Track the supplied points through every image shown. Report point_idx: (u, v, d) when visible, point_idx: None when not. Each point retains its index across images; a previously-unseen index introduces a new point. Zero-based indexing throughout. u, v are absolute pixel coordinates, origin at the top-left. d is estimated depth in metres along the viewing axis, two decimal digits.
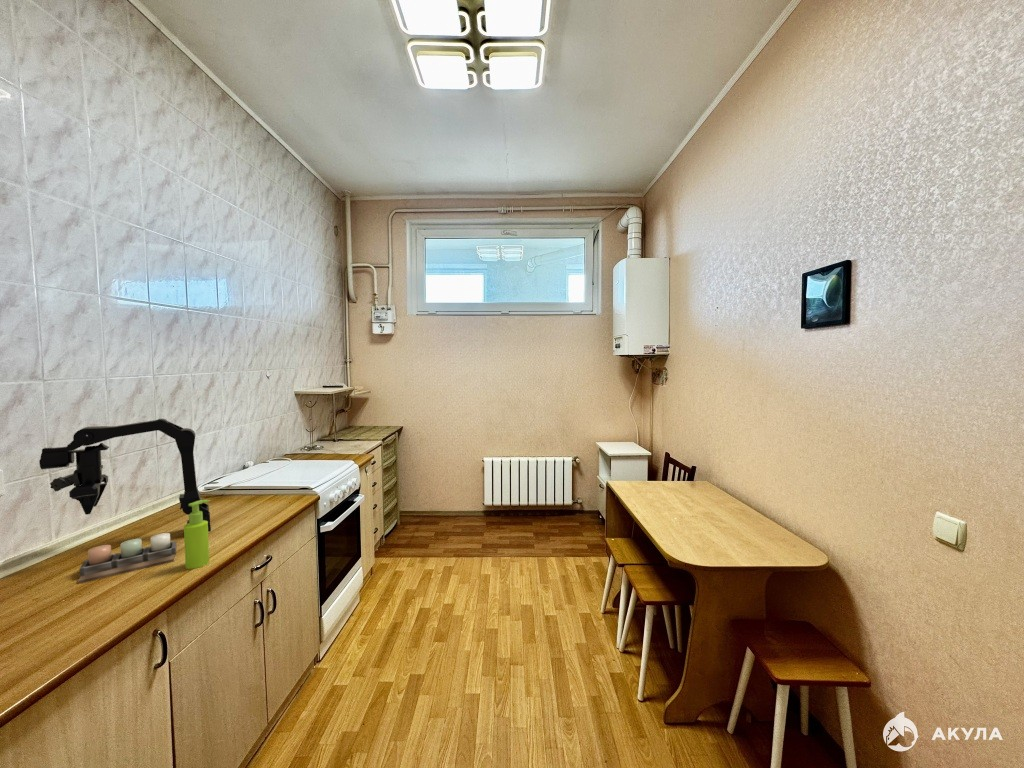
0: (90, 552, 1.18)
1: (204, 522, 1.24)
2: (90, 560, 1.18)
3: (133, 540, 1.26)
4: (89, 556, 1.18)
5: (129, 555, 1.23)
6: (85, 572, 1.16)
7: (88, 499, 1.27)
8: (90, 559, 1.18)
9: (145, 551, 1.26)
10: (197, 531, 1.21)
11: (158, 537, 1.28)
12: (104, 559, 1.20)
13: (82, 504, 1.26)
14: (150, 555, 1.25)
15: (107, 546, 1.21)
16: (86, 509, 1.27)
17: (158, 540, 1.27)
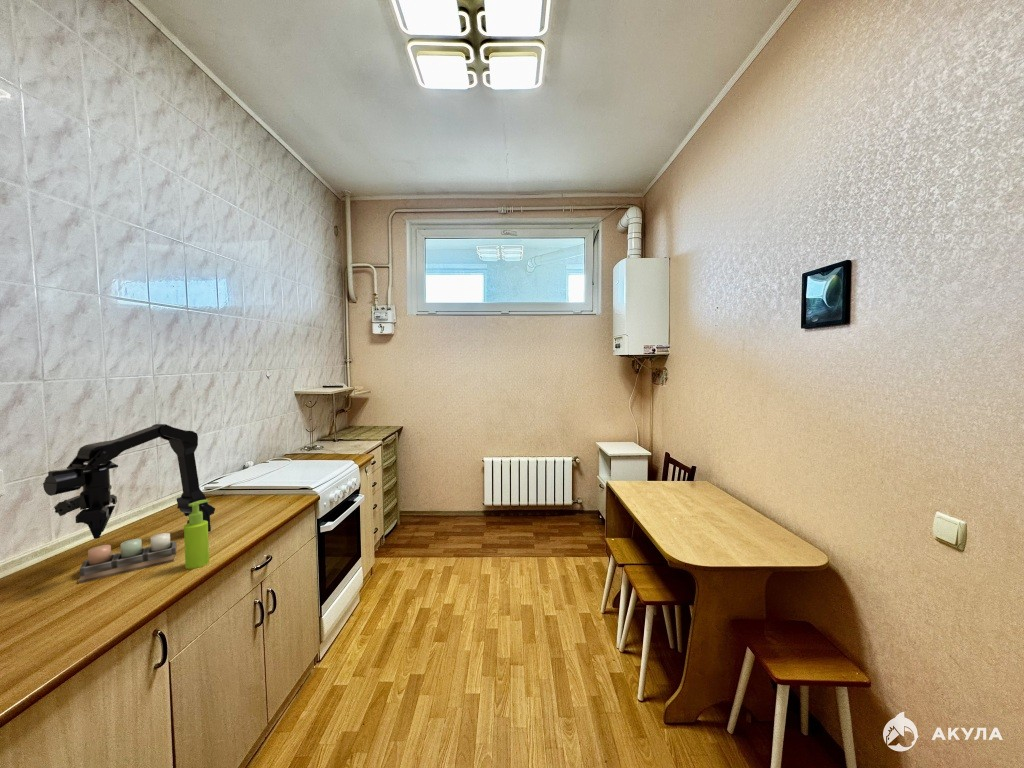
0: (90, 552, 1.18)
1: (204, 522, 1.24)
2: (90, 560, 1.18)
3: (133, 540, 1.26)
4: (89, 556, 1.18)
5: (129, 555, 1.23)
6: (85, 572, 1.16)
7: (97, 522, 1.17)
8: (90, 559, 1.18)
9: (145, 551, 1.26)
10: (197, 531, 1.21)
11: (158, 537, 1.28)
12: (104, 559, 1.20)
13: (91, 528, 1.16)
14: (150, 555, 1.25)
15: (107, 546, 1.21)
16: (95, 533, 1.17)
17: (158, 540, 1.27)
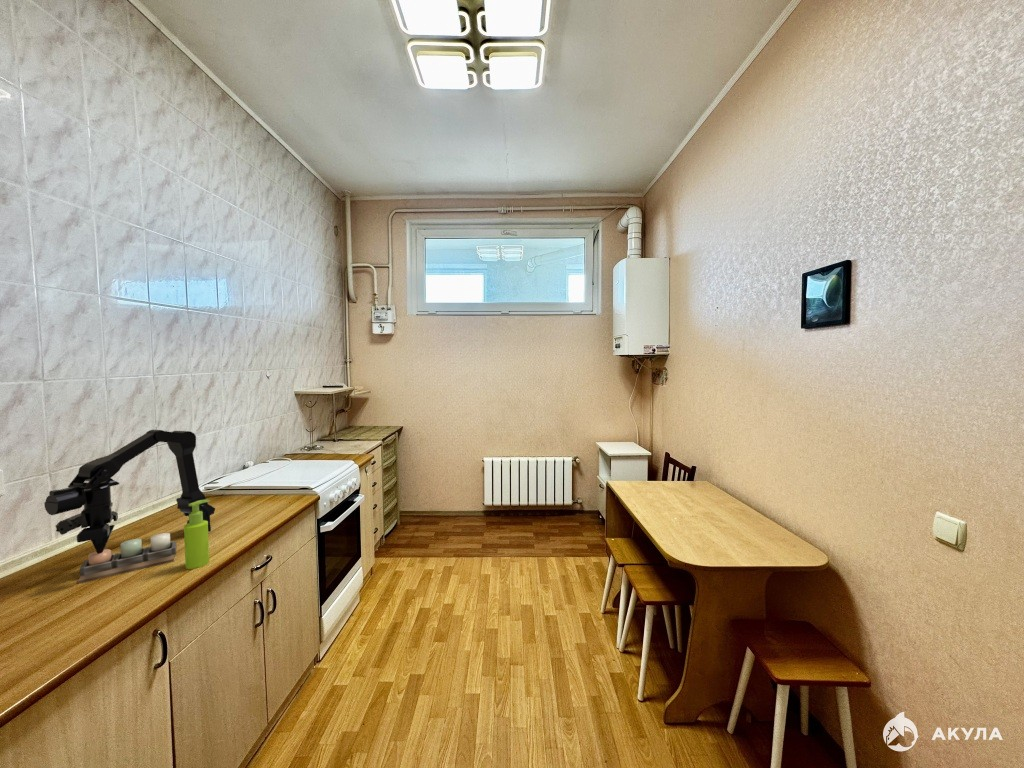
0: (90, 557, 1.18)
1: (204, 522, 1.24)
2: (90, 565, 1.18)
3: (133, 540, 1.26)
4: (89, 561, 1.18)
5: (129, 555, 1.23)
6: (85, 572, 1.16)
7: (100, 537, 1.19)
8: (90, 564, 1.18)
9: (145, 551, 1.26)
10: (197, 531, 1.21)
11: (158, 537, 1.28)
12: None
13: (94, 543, 1.18)
14: (150, 555, 1.25)
15: (107, 551, 1.21)
16: (98, 548, 1.19)
17: (158, 540, 1.27)
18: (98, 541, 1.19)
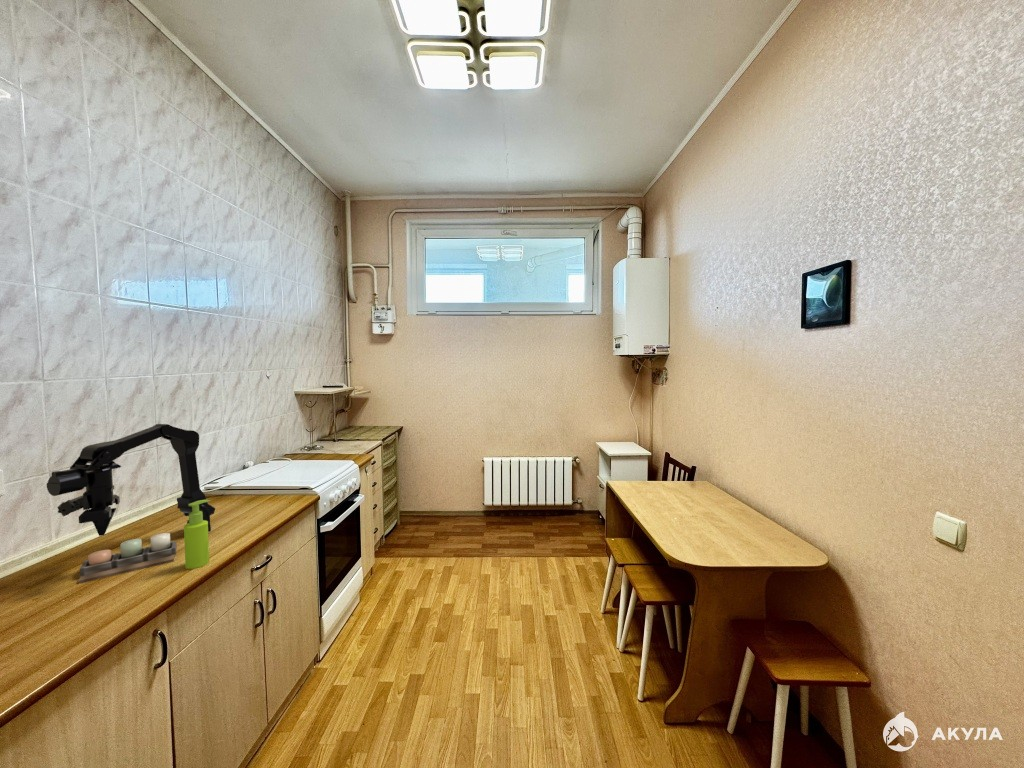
0: (90, 557, 1.18)
1: (204, 522, 1.24)
2: (90, 565, 1.18)
3: (133, 540, 1.26)
4: (89, 561, 1.18)
5: (129, 555, 1.23)
6: (85, 572, 1.16)
7: (102, 519, 1.19)
8: (90, 564, 1.18)
9: (145, 551, 1.26)
10: (197, 531, 1.21)
11: (158, 537, 1.28)
12: None
13: (96, 525, 1.19)
14: (150, 555, 1.25)
15: (107, 551, 1.21)
16: (100, 530, 1.20)
17: (158, 540, 1.27)
18: (100, 523, 1.19)
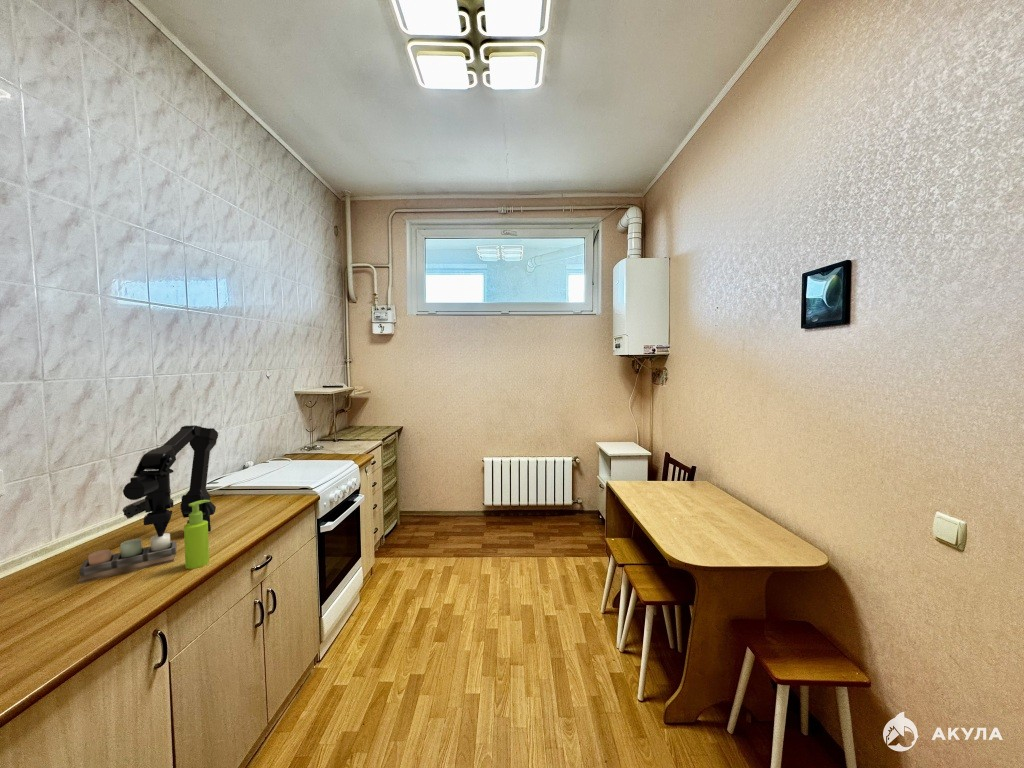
0: (90, 557, 1.18)
1: (204, 522, 1.24)
2: (90, 565, 1.18)
3: (133, 540, 1.26)
4: (89, 561, 1.18)
5: (129, 555, 1.23)
6: (85, 572, 1.16)
7: (161, 521, 1.28)
8: (90, 564, 1.18)
9: (145, 551, 1.26)
10: (197, 531, 1.21)
11: (158, 537, 1.28)
12: None
13: (156, 527, 1.27)
14: (150, 555, 1.25)
15: (107, 551, 1.21)
16: (159, 531, 1.28)
17: (158, 540, 1.27)
18: (159, 525, 1.28)
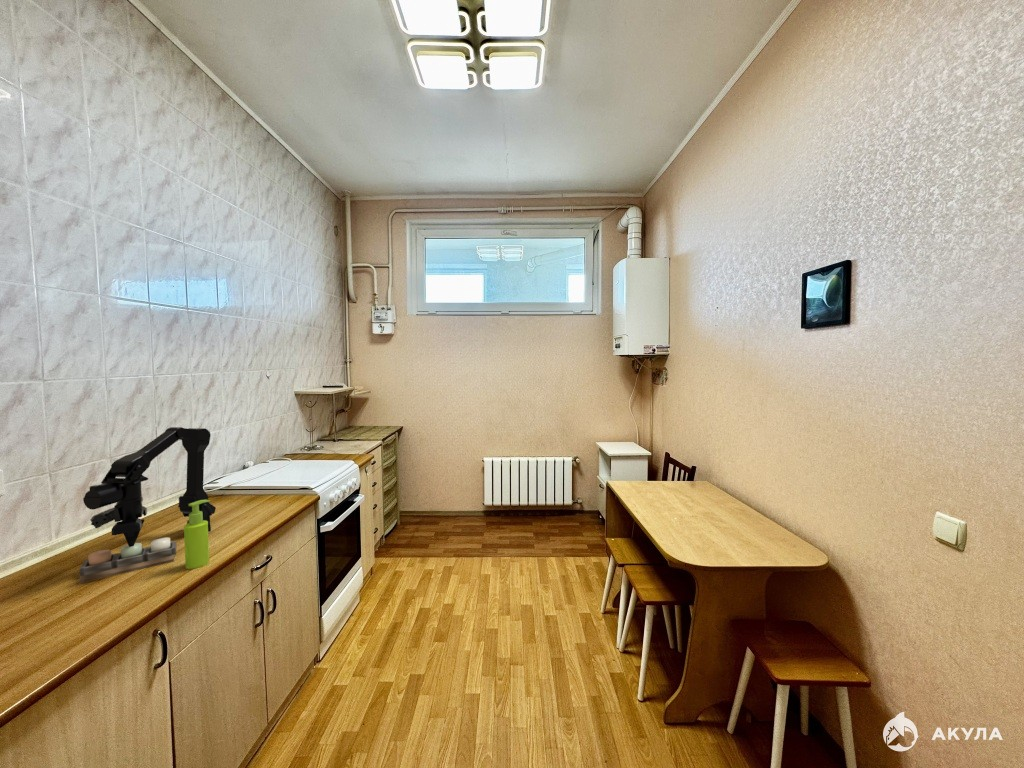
0: (90, 557, 1.18)
1: (204, 522, 1.24)
2: (90, 565, 1.18)
3: None
4: (89, 561, 1.18)
5: None
6: (85, 572, 1.16)
7: None
8: (90, 564, 1.18)
9: (145, 551, 1.26)
10: (197, 531, 1.21)
11: (158, 542, 1.28)
12: None
13: (126, 536, 1.23)
14: (150, 555, 1.25)
15: (107, 551, 1.21)
16: (130, 541, 1.24)
17: (159, 544, 1.27)
18: (130, 535, 1.23)
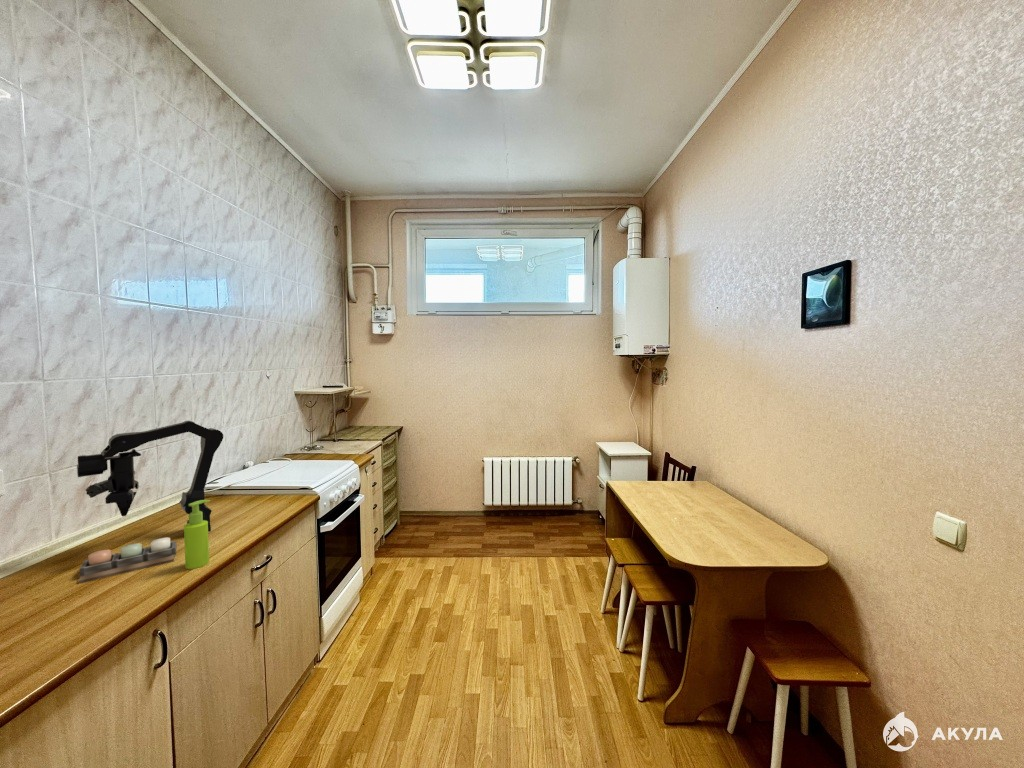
0: (90, 557, 1.18)
1: (204, 522, 1.24)
2: (90, 565, 1.18)
3: (133, 545, 1.26)
4: (89, 561, 1.18)
5: None
6: (85, 572, 1.16)
7: (124, 501, 1.32)
8: (90, 564, 1.18)
9: (145, 551, 1.26)
10: (197, 531, 1.21)
11: (158, 542, 1.28)
12: None
13: (119, 506, 1.31)
14: (150, 555, 1.25)
15: (107, 551, 1.21)
16: (122, 511, 1.32)
17: (159, 544, 1.27)
18: (123, 505, 1.32)
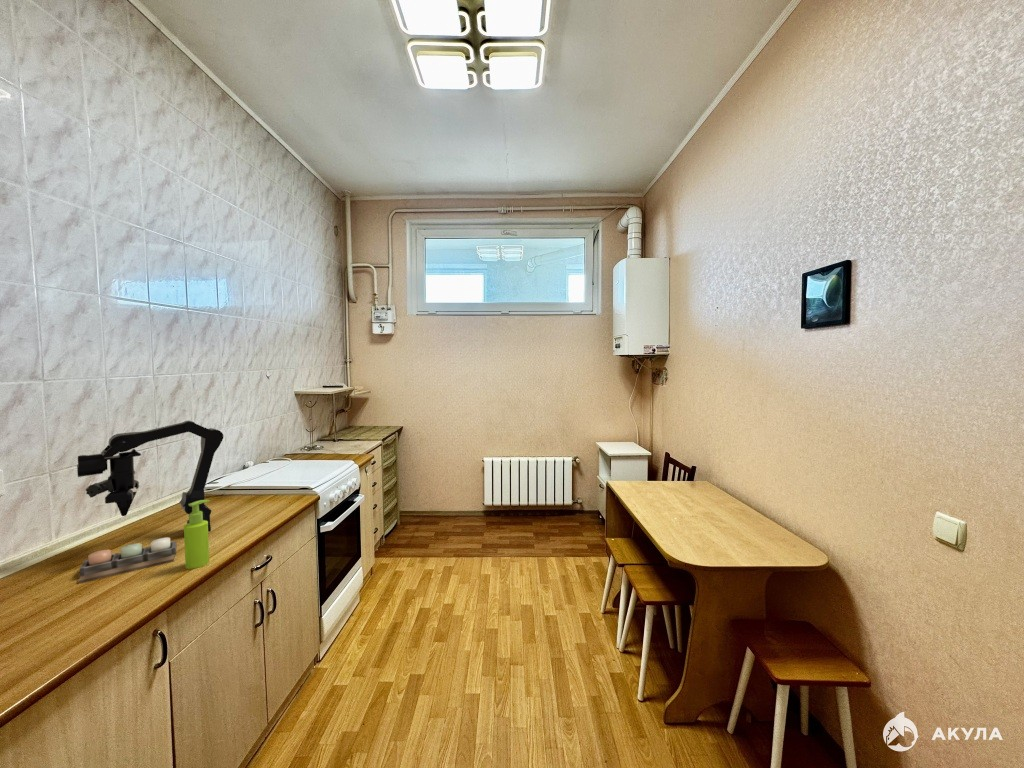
0: (90, 557, 1.18)
1: (204, 522, 1.24)
2: (90, 565, 1.18)
3: (133, 545, 1.26)
4: (89, 561, 1.18)
5: None
6: (85, 572, 1.16)
7: (124, 501, 1.32)
8: (90, 564, 1.18)
9: (145, 551, 1.26)
10: (197, 531, 1.21)
11: (158, 542, 1.28)
12: None
13: (119, 506, 1.32)
14: (150, 555, 1.25)
15: (107, 551, 1.21)
16: (122, 511, 1.33)
17: (159, 544, 1.27)
18: (122, 505, 1.32)
